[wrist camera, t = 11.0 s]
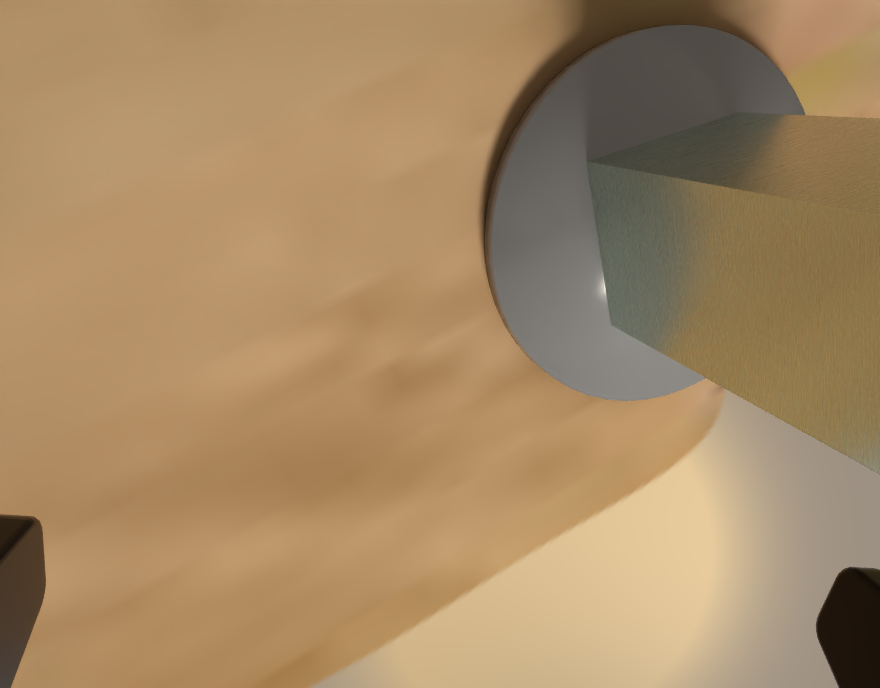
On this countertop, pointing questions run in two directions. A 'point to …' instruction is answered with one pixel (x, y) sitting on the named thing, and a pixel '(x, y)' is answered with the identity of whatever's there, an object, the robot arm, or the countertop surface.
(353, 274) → the countertop surface
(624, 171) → the sage tea tin
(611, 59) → the slate coaster
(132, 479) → the countertop surface
